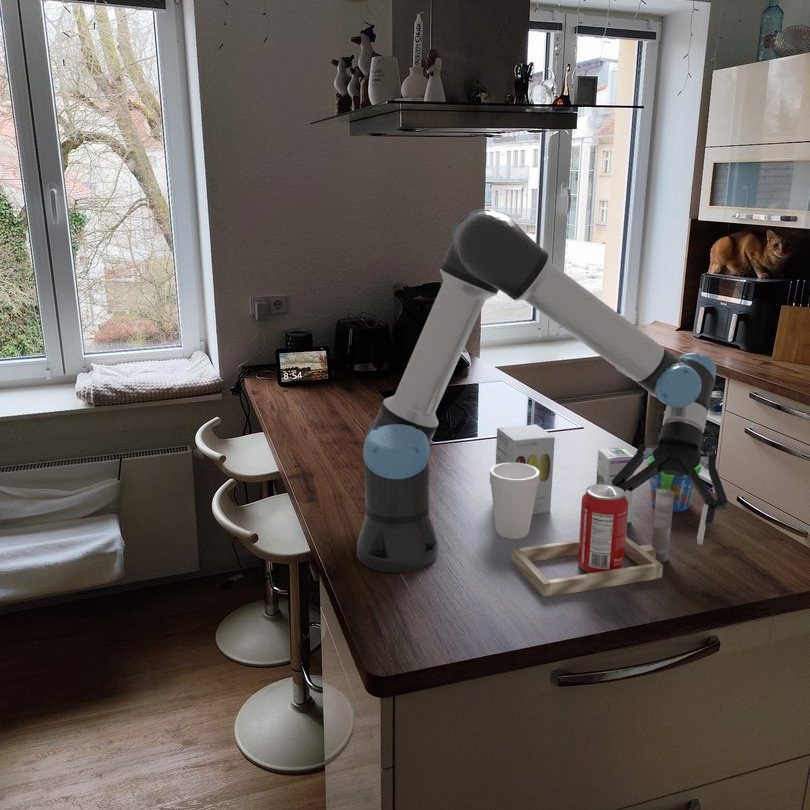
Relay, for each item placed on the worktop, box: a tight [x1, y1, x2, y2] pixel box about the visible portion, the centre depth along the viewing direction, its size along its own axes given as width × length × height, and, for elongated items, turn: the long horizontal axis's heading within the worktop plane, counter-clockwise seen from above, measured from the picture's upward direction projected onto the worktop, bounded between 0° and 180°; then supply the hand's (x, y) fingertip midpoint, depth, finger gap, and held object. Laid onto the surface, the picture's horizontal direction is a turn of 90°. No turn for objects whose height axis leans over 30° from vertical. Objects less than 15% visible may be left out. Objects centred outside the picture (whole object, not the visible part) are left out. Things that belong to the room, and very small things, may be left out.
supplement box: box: [495, 424, 556, 516], centre depth 161 cm, size 10×9×17 cm
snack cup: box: [647, 456, 702, 513], centre depth 162 cm, size 16×10×10 cm
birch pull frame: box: [511, 489, 674, 598], centre depth 135 cm, size 28×13×13 cm, turn 106°
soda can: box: [577, 484, 628, 574], centre depth 135 cm, size 8×8×15 cm
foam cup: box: [489, 463, 540, 540], centre depth 150 cm, size 10×9×13 cm
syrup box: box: [595, 447, 635, 524], centre depth 155 cm, size 6×6×14 cm
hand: (659, 533), depth 137 cm, fingers open, 13 cm apart
